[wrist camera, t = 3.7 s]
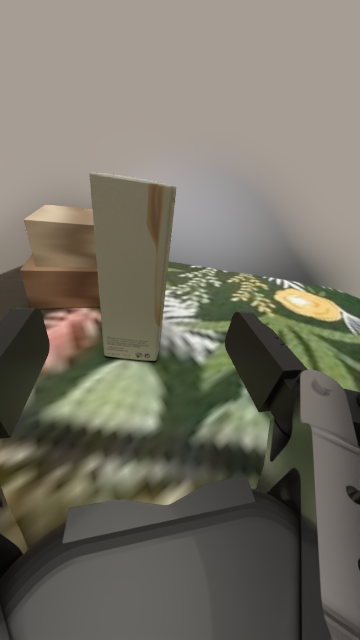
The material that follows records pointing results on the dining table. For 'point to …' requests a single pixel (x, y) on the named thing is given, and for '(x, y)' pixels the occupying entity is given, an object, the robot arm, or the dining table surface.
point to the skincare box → (131, 261)
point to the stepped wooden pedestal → (61, 259)
